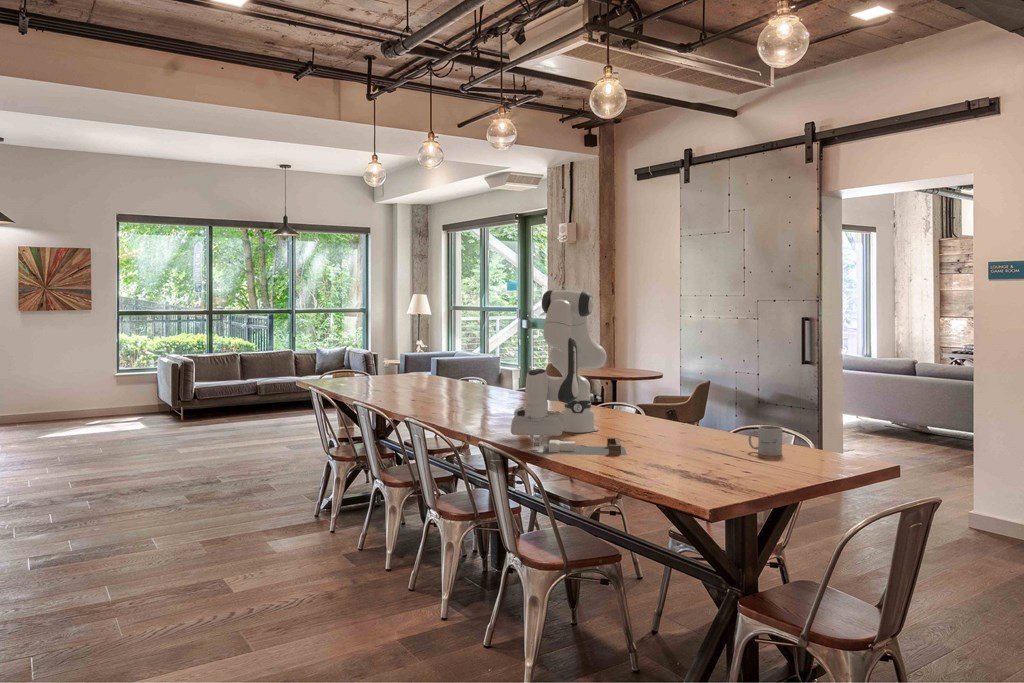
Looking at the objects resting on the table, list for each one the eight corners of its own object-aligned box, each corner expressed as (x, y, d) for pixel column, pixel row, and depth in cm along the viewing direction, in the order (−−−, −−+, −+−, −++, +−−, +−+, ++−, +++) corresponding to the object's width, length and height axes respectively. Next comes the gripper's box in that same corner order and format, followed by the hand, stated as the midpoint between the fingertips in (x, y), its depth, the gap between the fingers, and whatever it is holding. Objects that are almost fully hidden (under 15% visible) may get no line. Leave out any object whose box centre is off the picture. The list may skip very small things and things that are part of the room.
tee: (549, 447, 297) (549, 439, 297) (575, 447, 296) (575, 440, 296) (548, 451, 288) (548, 444, 288) (575, 452, 287) (575, 444, 287)
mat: (543, 446, 301) (543, 445, 301) (624, 448, 298) (624, 446, 298) (542, 454, 285) (542, 453, 285) (626, 456, 282) (626, 454, 282)
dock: (607, 446, 299) (607, 437, 299) (618, 446, 298) (618, 438, 298) (608, 454, 283) (608, 445, 283) (620, 454, 282) (621, 445, 282)
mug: (785, 453, 287) (786, 427, 287) (775, 456, 281) (776, 430, 281) (755, 449, 296) (755, 423, 295) (745, 452, 290) (745, 426, 289)
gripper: (563, 410, 295) (563, 445, 295) (511, 409, 296) (511, 444, 297) (563, 412, 288) (563, 448, 289) (510, 411, 290) (510, 447, 291)
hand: (536, 446), depth 293 cm, fingers closed
